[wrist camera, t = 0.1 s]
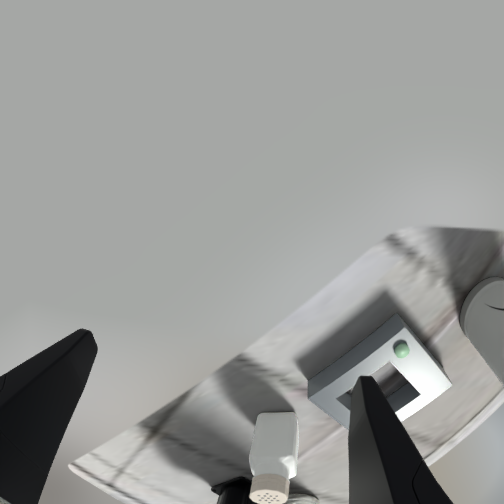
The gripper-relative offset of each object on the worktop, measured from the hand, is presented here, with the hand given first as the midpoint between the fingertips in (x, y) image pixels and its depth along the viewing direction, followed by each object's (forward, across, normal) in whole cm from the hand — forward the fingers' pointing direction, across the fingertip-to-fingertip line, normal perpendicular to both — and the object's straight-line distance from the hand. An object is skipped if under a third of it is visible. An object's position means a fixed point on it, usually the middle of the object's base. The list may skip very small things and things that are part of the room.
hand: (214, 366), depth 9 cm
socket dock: (+12, -12, +15) cm, 22 cm away
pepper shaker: (+11, -3, +22) cm, 24 cm away
